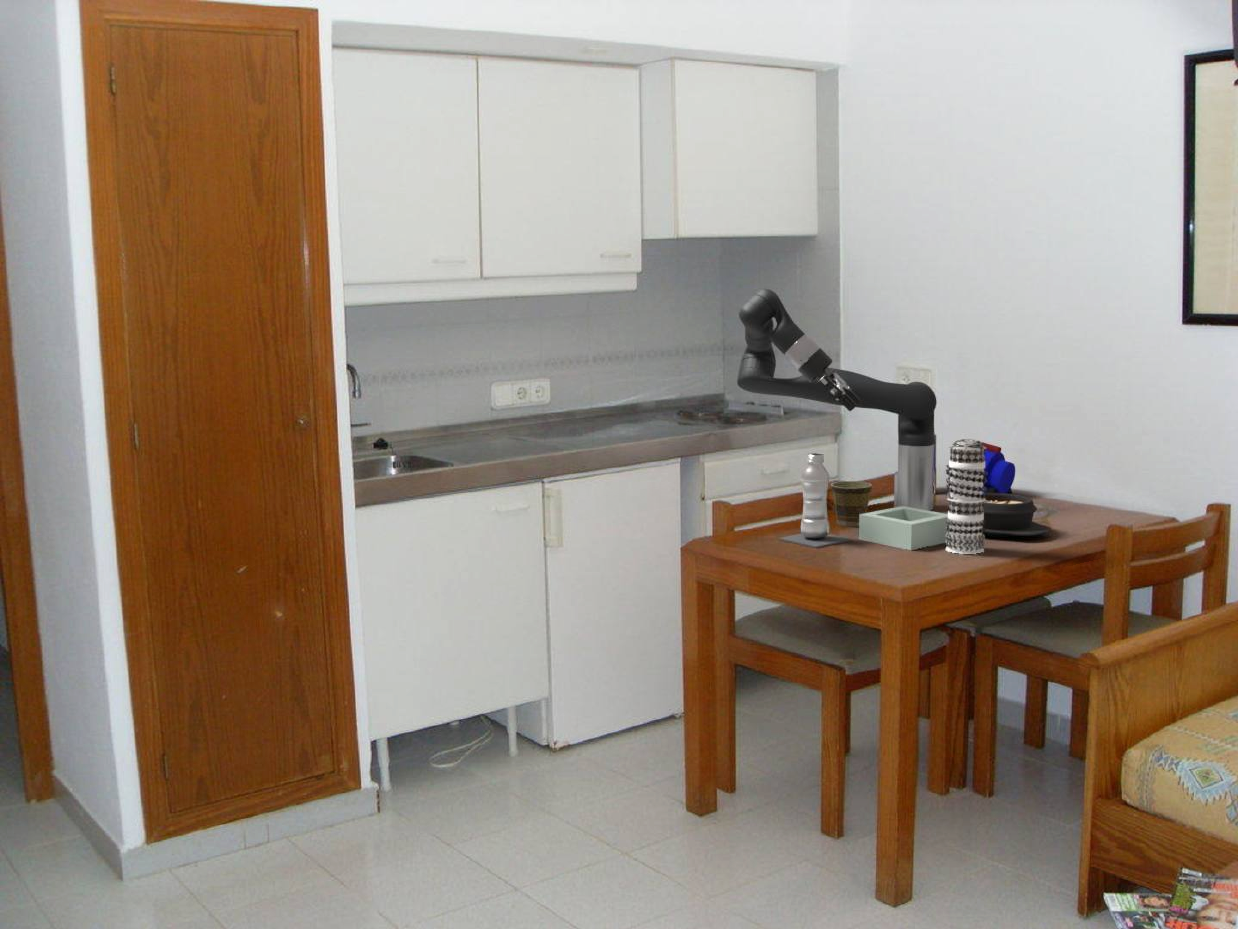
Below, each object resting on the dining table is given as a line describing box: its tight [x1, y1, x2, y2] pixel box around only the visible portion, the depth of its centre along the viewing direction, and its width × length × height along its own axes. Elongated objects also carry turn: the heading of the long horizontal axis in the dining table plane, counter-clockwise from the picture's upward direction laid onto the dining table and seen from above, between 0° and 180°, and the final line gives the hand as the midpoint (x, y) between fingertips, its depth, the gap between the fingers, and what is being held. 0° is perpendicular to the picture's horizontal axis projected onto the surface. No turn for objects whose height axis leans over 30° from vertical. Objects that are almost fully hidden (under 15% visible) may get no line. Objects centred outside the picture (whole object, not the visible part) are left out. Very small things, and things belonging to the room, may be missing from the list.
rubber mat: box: [778, 533, 853, 549], centre depth 305 cm, size 12×12×1 cm
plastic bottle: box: [800, 452, 830, 539], centre depth 304 cm, size 6×7×20 cm
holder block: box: [858, 506, 949, 551], centre depth 304 cm, size 16×16×6 cm
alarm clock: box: [981, 441, 1016, 494], centre depth 357 cm, size 12×12×15 cm
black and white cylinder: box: [945, 438, 988, 555], centre depth 291 cm, size 9×9×25 cm
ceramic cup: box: [827, 480, 873, 528], centre depth 322 cm, size 13×10×10 cm
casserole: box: [982, 493, 1052, 538], centre depth 310 cm, size 25×19×8 cm
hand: (855, 406), depth 309 cm, fingers open, 8 cm apart
